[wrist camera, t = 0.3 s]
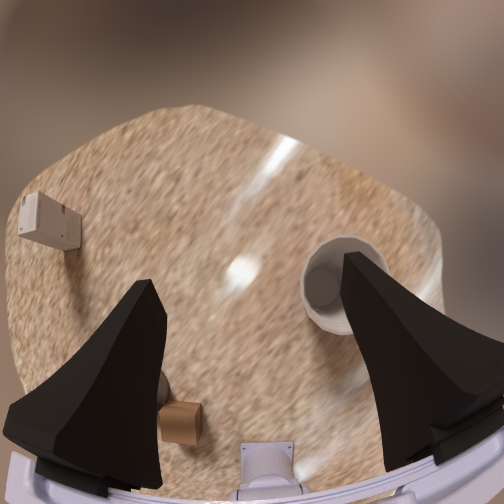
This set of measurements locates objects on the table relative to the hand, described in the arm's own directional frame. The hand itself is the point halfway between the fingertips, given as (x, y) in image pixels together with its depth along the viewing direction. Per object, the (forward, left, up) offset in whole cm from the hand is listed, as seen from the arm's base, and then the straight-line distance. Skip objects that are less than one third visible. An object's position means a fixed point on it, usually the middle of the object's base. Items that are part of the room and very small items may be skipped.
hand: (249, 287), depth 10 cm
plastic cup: (+1, -10, -30) cm, 32 cm away
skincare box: (+10, +31, -30) cm, 44 cm away
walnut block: (-19, +10, -30) cm, 37 cm away
